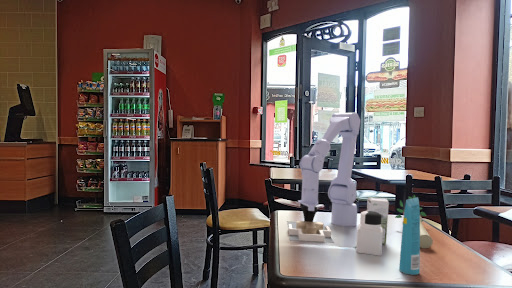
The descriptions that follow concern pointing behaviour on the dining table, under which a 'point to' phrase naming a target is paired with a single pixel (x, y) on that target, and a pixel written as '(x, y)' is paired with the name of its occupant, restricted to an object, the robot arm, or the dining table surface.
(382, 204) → the syrup box
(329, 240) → the board
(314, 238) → the dock
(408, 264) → the tube
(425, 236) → the flower vase
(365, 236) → the medicine bottle
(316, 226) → the t block
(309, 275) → the dining table surface
